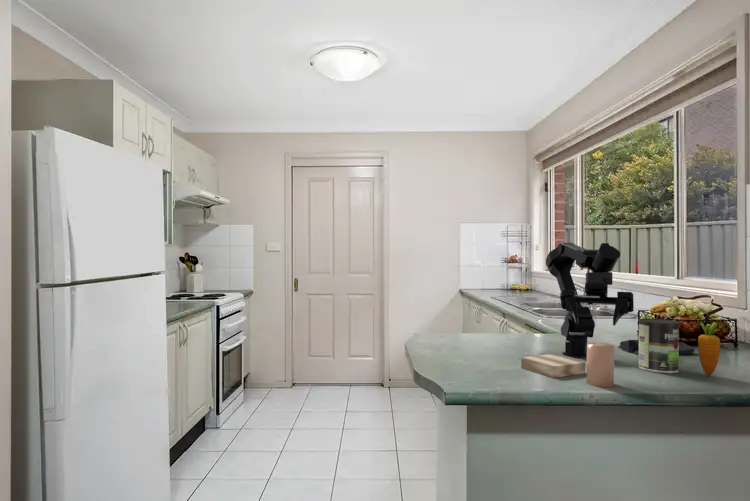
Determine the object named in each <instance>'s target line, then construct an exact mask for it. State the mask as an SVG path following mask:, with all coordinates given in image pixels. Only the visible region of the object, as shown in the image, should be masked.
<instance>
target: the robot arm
mask: <svg viewBox="0 0 750 501" xmlns="http://www.w3.org/2000/svg"><path fill="white" fill-rule="evenodd" d="M620 257H621V252H620V250H618V248H616V247H614V246H612V245H610V244H609V243H608V242H601V244H600V246H599V248H598V249H587V248H584V247H581V246H580V245H576V244H575V243H573V242H561V243H560V242H559V243H558V244H557V246H556V247H555V248H553V249H552V250H551V251H549V253H548V255H547V256H546V258H545V266H546V268H547V270H548V272H549V274H551V275H552V276H554V277H555V279H556V280H557V284H558V287H559V290H560V294H559V298H560V305H561V309H563V310H566V313H565V315H564V316H565V317H564V321H563V323H562V325H561V327H560V333H561V334H560V335H561V336H563V337H565V344H564V345H565V347H564V348H565V350H564V351H562V352H561V354H562V355H566V356H569V357H574V358H585V357H586V358H587V343H588V338H593V337H594V333H595V332H594V331H595V327H596V324H595V319H594V318H593V317H594V316H593V315H592V312H591V308H589V306H583V305H582V304H587V305H598V306H600V305H601V306H602V305H603V306H604V305H605V306H614V310H613V311H614V312H613V318H612V326H614V327H615V326H616V325H617V323H618V321H619V320H620V319H621V318H622V317H623V316H624V315H627V314H629V313H632V312H634V293H633V292H631V291H617V292H616V293H617V295H616V296H608V291H609V290H608V288H609V287H608V286H612V285H613V272H612V271H614V268H615V266H616V264H617V262H618V261H619V258H620ZM574 263H575V265H576V266H578V267H579V268H580V269H587V270H586V271H587V272H586V273H585V283H584V293H585V294H578V291H577V288H576V285H575V283H574V279H573V277H572V274H571V271H572V267H573V266H574Z"/></svg>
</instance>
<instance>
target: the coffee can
mask: <svg viewBox="0 0 750 501" xmlns="http://www.w3.org/2000/svg"><path fill="white" fill-rule="evenodd" d="M637 320H638V340H639V355H638V366H637V367H638V368H639V369H640V370H643V371H646V372H652V373H659V374H678V373H680V371H679V368H680V365H679V364H680V362H679V358H680V357H679V356H680V355H679V342H680V324H681V323H680V321H677V320H674V319H673V320H671V319H665V318H664V319H663V318H639V319H637Z"/></svg>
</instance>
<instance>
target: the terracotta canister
mask: <svg viewBox="0 0 750 501" xmlns="http://www.w3.org/2000/svg"><path fill="white" fill-rule="evenodd" d="M586 384H587V385H590V386H593V387H597V388H613V387H614V386H615V345H614V344H611V343H606V342H600V341H599V342H597V341H596V342H595V341H594V342H593V341H591V342H587V356H586Z"/></svg>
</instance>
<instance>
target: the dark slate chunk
mask: <svg viewBox="0 0 750 501" xmlns="http://www.w3.org/2000/svg"><path fill="white" fill-rule="evenodd" d="M617 348H618V349H621V351H624V352H627V353H628V354H629V353H630V354H634V355H637V356H639V339H628V340H623V341H620V343H619V346H617ZM694 352H696V350H695V348H694V347H692V346H691V345H688V344H687V343H684V342H683V341H681V342H680V341H679V356H680V355H681V356H682V355H683V356H684V355H689V354H693V353H694Z"/></svg>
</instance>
